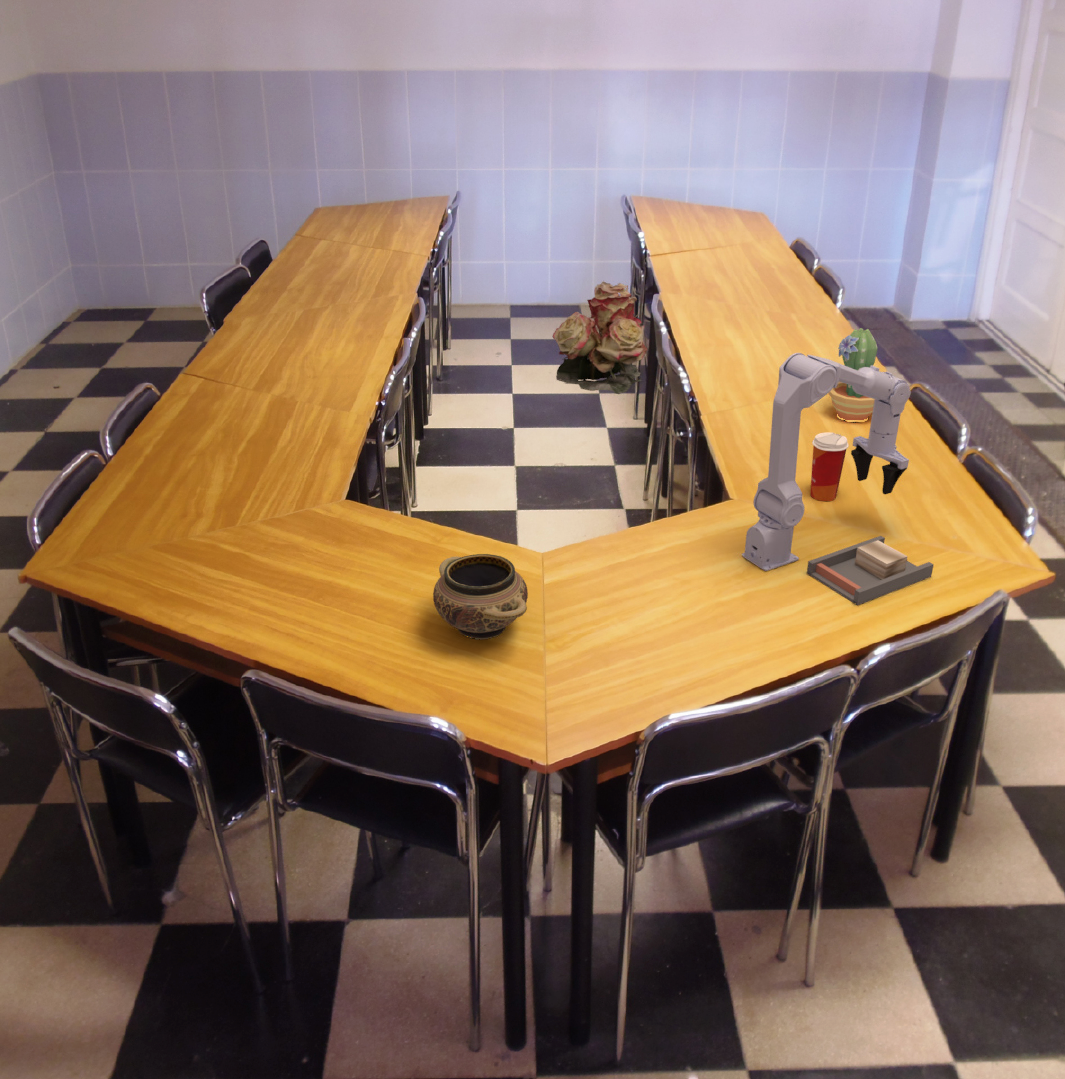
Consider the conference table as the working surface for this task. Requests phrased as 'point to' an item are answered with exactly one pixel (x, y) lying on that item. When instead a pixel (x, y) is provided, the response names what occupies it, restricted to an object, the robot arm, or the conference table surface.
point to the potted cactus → (857, 355)
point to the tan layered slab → (880, 559)
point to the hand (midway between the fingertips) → (874, 486)
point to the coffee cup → (827, 465)
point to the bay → (861, 575)
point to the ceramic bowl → (480, 594)
